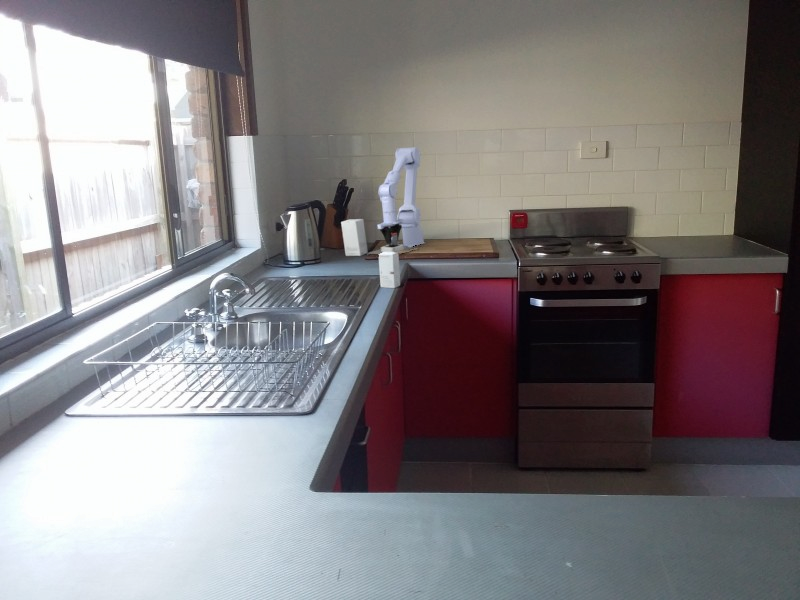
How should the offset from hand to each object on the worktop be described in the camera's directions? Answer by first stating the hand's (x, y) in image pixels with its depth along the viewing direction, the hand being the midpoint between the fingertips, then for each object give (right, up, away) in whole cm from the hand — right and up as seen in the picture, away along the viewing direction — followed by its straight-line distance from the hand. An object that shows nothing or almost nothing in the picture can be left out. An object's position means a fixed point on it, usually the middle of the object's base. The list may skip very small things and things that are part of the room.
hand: (392, 242), depth 305 cm
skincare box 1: (-16, -5, +5) cm, 18 cm away
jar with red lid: (0, -2, 0) cm, 2 cm away
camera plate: (0, -4, +3) cm, 5 cm away
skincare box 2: (0, -20, -59) cm, 62 cm away
